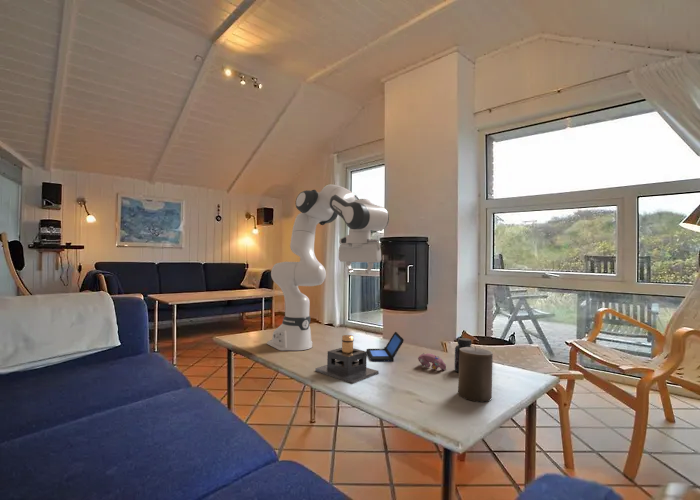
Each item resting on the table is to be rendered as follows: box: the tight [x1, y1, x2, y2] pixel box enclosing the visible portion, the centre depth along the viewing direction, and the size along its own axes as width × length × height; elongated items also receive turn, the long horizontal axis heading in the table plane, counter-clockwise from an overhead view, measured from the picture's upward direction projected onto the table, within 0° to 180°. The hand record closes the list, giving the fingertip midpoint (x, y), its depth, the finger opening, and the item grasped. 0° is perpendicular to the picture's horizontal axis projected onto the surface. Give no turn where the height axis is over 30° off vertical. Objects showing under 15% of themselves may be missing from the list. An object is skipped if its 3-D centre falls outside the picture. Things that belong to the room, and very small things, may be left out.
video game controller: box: [417, 352, 447, 371], centre depth 131 cm, size 10×5×7 cm, turn 49°
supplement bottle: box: [453, 337, 472, 374], centre depth 128 cm, size 7×7×12 cm
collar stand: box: [315, 347, 379, 385], centre depth 124 cm, size 18×14×8 cm
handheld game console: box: [365, 331, 405, 363], centre depth 146 cm, size 16×13×9 cm
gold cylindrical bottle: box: [341, 334, 354, 365], centre depth 124 cm, size 4×4×12 cm
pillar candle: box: [457, 346, 494, 403], centre depth 105 cm, size 10×10×15 cm
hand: (359, 273), depth 140 cm, fingers open, 8 cm apart
